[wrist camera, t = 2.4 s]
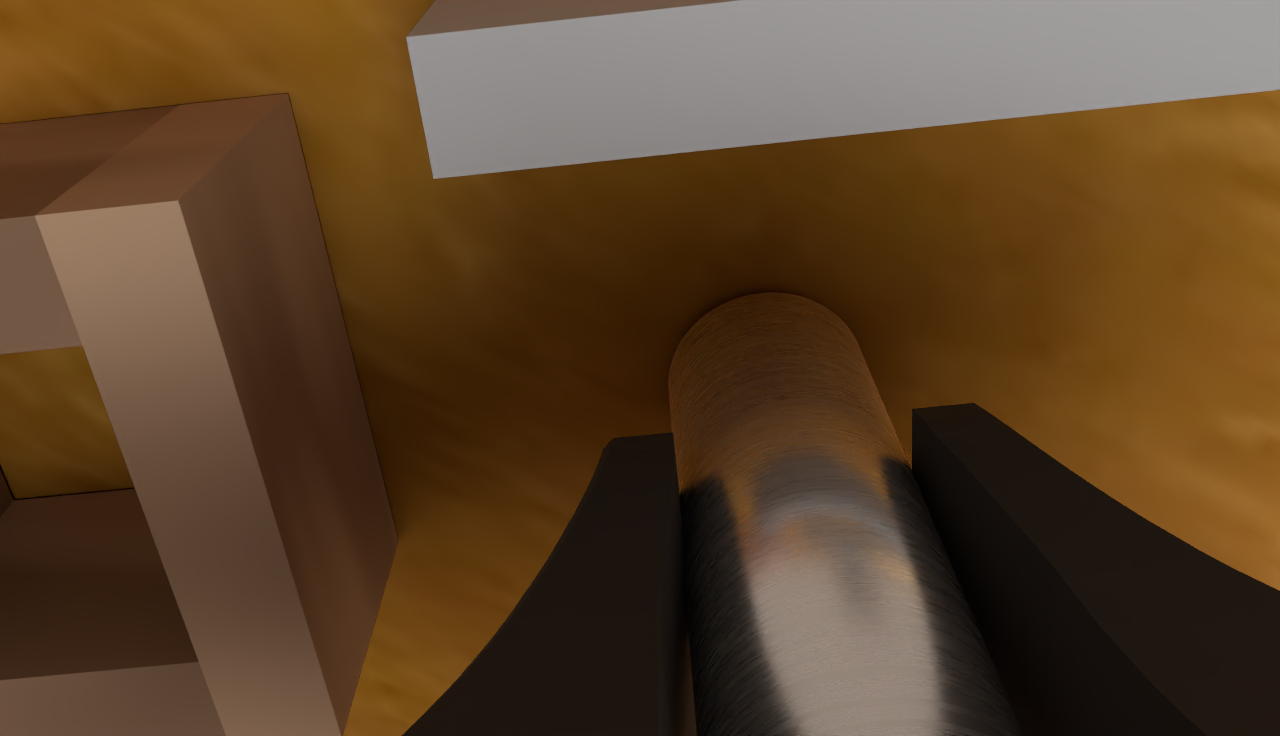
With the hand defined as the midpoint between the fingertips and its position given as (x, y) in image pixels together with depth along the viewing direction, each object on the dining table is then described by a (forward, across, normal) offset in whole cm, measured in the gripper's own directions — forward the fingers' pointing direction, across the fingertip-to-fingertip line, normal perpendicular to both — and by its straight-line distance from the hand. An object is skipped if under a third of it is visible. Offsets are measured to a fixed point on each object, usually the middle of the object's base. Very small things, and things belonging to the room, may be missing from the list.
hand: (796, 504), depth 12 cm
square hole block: (+3, +8, -1) cm, 9 cm away
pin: (+3, 0, 0) cm, 3 cm away
